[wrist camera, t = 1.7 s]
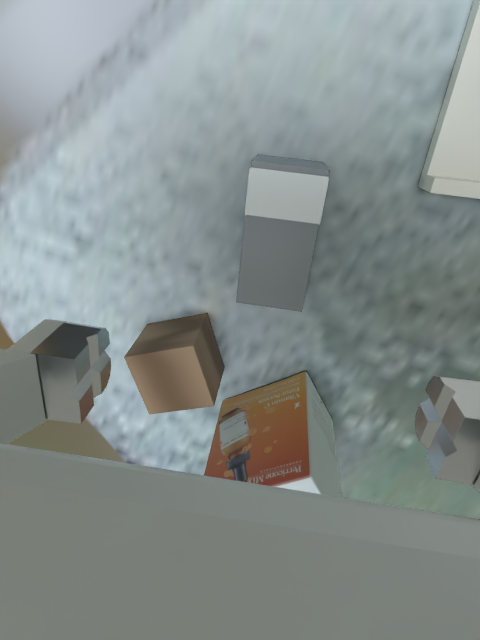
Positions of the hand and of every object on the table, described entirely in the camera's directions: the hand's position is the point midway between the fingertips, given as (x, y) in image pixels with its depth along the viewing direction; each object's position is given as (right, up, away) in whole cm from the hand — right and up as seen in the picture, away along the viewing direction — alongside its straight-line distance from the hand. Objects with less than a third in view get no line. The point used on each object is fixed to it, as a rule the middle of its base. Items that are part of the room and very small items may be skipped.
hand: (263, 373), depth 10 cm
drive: (+2, +8, +16) cm, 18 cm away
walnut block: (-5, -1, +21) cm, 22 cm away
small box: (+3, -6, +23) cm, 24 cm away
